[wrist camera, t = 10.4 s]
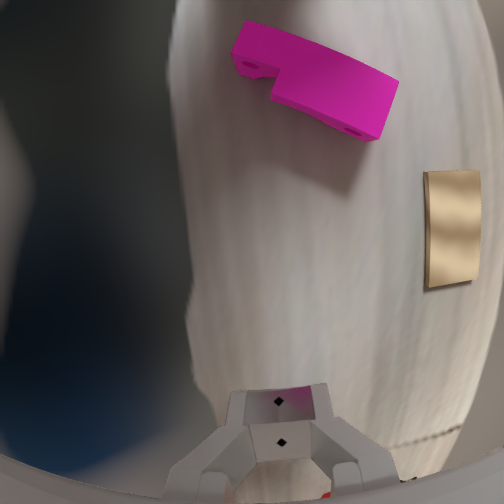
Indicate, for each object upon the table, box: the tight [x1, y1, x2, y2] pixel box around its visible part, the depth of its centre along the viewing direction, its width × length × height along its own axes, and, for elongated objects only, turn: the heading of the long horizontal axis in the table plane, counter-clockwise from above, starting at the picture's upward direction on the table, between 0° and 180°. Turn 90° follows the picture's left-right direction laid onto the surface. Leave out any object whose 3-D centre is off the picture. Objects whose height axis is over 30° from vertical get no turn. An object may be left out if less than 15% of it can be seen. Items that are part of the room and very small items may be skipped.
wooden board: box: [424, 170, 481, 288], centre depth 34 cm, size 14×8×1 cm, turn 8°
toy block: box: [231, 20, 399, 142], centre depth 29 cm, size 15×6×8 cm, turn 69°
